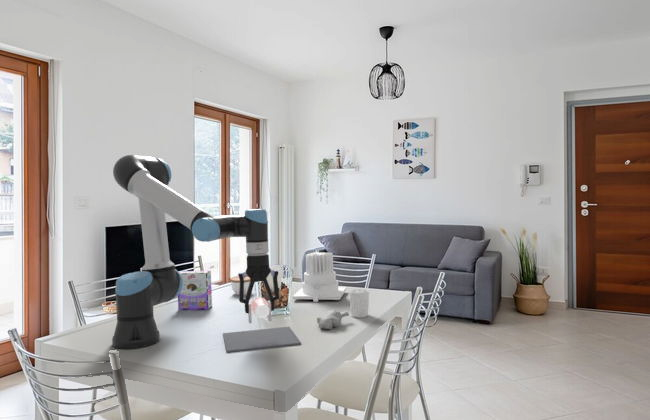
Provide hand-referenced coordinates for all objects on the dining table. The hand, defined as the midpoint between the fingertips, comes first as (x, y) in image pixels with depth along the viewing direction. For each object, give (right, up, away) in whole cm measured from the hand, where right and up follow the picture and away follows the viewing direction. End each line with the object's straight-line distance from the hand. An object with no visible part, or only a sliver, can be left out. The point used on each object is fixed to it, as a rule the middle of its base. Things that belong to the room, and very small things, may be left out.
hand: (260, 321), depth 162 cm
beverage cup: (+2, +5, -8) cm, 9 cm away
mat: (0, -6, 0) cm, 6 cm away
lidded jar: (-20, -4, +76) cm, 79 cm away
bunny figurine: (+25, -5, +15) cm, 30 cm away
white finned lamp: (+20, -4, +65) cm, 68 cm away
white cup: (+36, -5, +28) cm, 46 cm away
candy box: (-35, -6, +47) cm, 59 cm away
